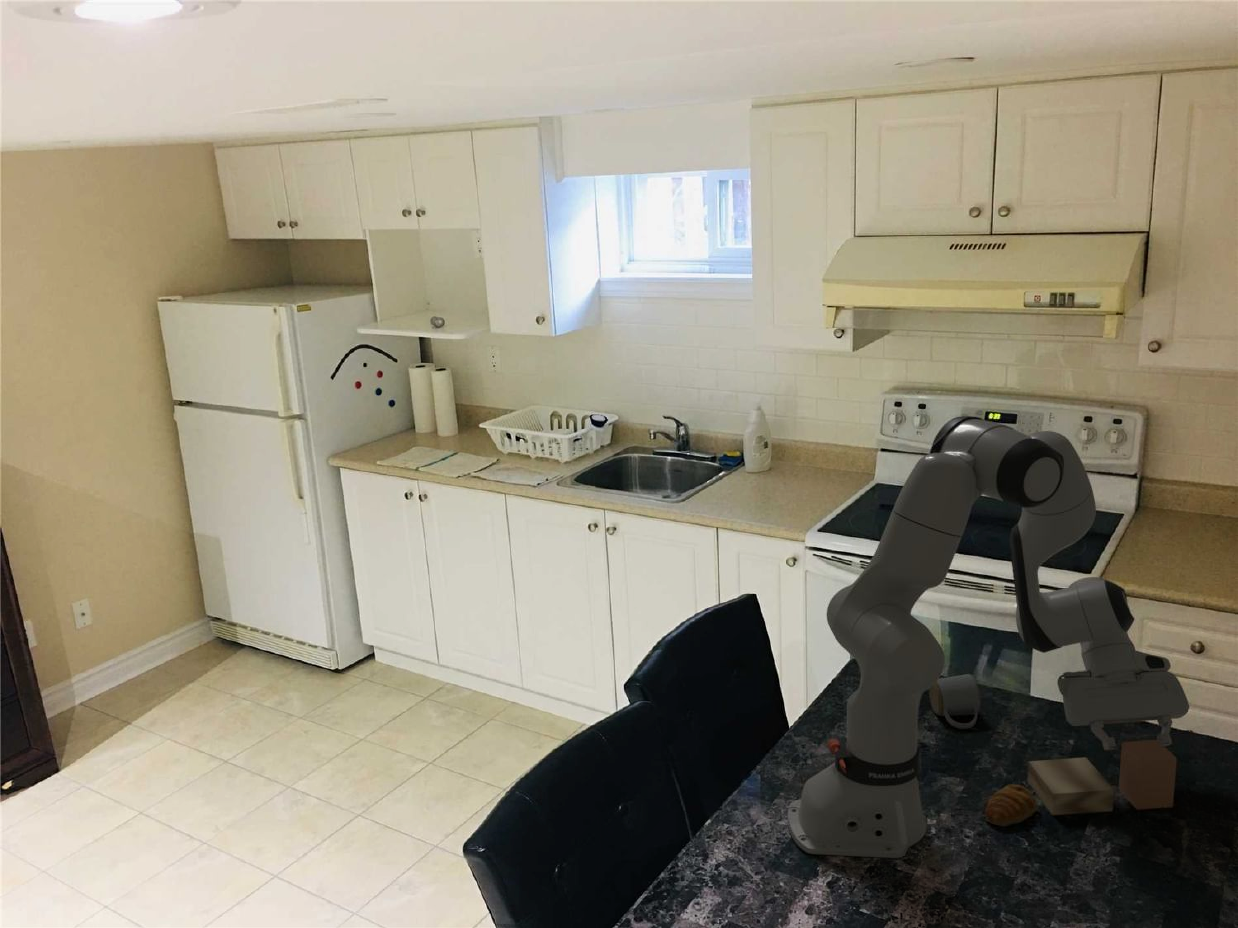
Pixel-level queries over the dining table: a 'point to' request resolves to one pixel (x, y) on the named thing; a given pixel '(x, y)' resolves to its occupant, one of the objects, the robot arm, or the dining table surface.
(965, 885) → the dining table surface
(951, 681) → the ceramic mug
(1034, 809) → the pastry
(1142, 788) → the reddish brown block
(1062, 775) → the oak base block
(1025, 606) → the robot arm
